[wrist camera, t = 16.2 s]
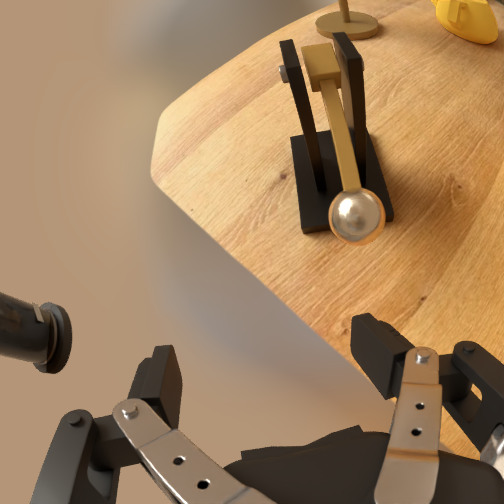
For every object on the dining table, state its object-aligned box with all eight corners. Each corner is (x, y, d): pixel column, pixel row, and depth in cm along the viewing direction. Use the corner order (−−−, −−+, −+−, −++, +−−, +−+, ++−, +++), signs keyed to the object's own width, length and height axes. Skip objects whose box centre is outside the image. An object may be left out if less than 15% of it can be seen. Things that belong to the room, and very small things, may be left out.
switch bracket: (392, 221, 26) (414, 89, 12) (303, 234, 29) (256, 111, 15) (365, 132, 31) (355, 12, 17) (292, 144, 34) (252, 29, 20)
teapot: (438, 5, 39) (436, -31, 30) (504, 36, 31) (509, -2, 21) (402, 21, 39) (398, -24, 29) (484, 58, 30) (490, 8, 20)
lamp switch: (384, 242, 19) (394, 241, 15) (332, 249, 20) (332, 250, 16) (341, 63, 19) (340, 36, 15) (297, 69, 20) (289, 43, 16)
